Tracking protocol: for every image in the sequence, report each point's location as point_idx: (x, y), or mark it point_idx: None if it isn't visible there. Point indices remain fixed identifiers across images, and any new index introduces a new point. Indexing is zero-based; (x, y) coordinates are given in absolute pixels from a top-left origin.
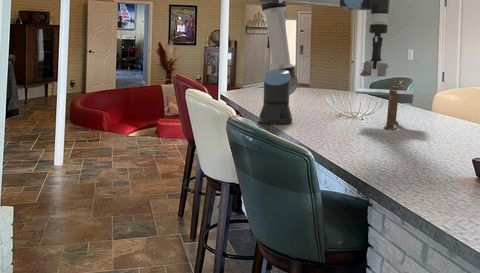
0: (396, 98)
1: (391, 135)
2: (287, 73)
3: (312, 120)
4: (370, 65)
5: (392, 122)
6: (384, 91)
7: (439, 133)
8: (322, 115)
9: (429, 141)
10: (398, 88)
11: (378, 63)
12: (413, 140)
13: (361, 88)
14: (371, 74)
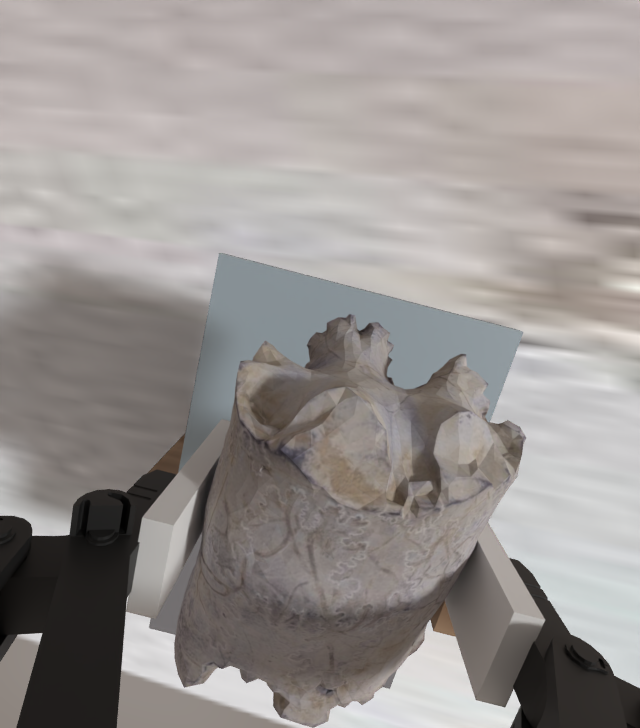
0: None
1: (74, 398)
2: None
3: (399, 24)
4: (219, 472)
5: None
6: None
7: None
8: (621, 101)
9: (7, 509)
10: (432, 618)
11: (226, 608)
12: (2, 459)
13: (499, 344)
14: (211, 433)
